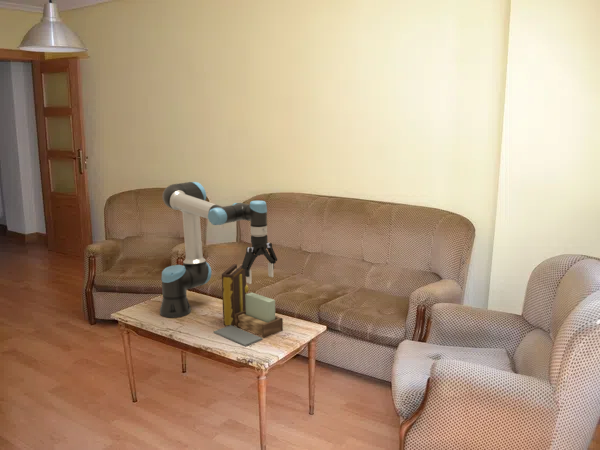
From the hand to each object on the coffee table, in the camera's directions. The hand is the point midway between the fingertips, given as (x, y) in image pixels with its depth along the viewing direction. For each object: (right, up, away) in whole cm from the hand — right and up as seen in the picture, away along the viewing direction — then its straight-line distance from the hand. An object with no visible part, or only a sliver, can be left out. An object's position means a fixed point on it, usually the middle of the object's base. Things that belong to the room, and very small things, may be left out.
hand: (260, 280), depth 246 cm
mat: (-10, -25, -5) cm, 27 cm away
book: (-13, -21, +17) cm, 30 cm away
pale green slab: (0, -23, +5) cm, 23 cm away
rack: (-1, -23, +4) cm, 23 cm away
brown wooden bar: (-3, -23, +1) cm, 24 cm away
